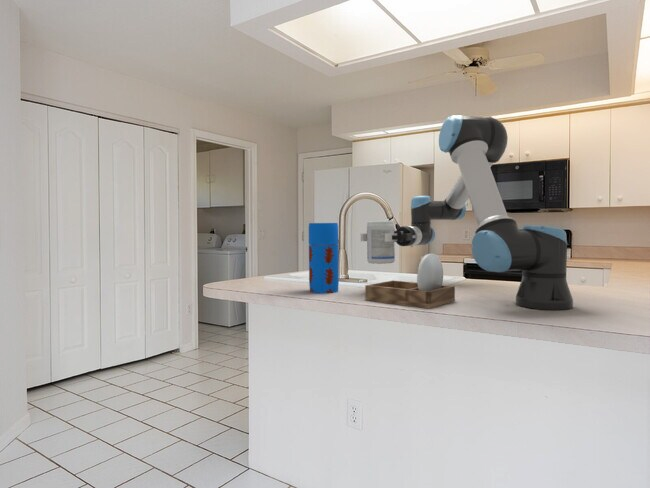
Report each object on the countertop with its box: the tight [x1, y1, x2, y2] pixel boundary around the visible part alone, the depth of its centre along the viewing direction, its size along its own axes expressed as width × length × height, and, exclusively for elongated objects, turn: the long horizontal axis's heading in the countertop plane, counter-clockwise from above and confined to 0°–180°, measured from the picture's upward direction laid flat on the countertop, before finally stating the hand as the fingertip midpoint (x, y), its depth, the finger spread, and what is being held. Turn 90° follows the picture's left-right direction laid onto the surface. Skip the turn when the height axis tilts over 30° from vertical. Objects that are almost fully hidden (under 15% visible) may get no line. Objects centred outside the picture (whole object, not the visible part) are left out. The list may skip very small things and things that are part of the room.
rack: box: [364, 280, 456, 309], centre depth 142 cm, size 23×16×5 cm
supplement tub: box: [366, 220, 396, 265], centre depth 157 cm, size 10×10×15 cm
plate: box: [416, 253, 444, 291], centre depth 137 cm, size 1×14×14 cm, turn 138°
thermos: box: [308, 222, 340, 294], centre depth 164 cm, size 11×11×25 cm
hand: (373, 237), depth 154 cm, fingers closed on supplement tub, 9 cm apart
